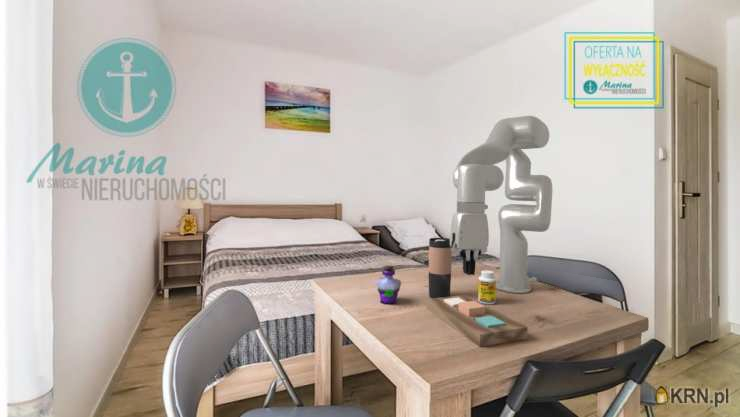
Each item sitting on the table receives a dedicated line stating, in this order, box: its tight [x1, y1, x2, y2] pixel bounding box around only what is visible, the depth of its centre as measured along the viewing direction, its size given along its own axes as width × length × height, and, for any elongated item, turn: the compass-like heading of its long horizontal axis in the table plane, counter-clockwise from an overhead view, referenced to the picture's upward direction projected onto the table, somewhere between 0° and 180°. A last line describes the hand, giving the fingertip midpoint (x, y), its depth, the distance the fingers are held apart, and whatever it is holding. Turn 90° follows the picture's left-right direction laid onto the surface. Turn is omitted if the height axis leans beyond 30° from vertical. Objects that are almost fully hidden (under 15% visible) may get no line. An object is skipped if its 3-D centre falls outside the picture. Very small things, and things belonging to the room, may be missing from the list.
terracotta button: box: [458, 301, 485, 317], centre depth 96 cm, size 5×5×3 cm
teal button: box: [475, 316, 505, 328], centre depth 89 cm, size 5×5×3 cm
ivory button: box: [444, 298, 466, 307], centre depth 104 cm, size 5×5×3 cm
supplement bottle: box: [477, 269, 497, 305], centre depth 113 cm, size 6×6×10 cm
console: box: [425, 294, 529, 348], centre depth 96 cm, size 14×27×3 cm, turn 18°
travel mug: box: [428, 237, 452, 299], centre depth 118 cm, size 8×8×20 cm
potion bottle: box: [375, 265, 402, 306], centre depth 113 cm, size 9×9×12 cm
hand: (468, 273), depth 97 cm, fingers closed
